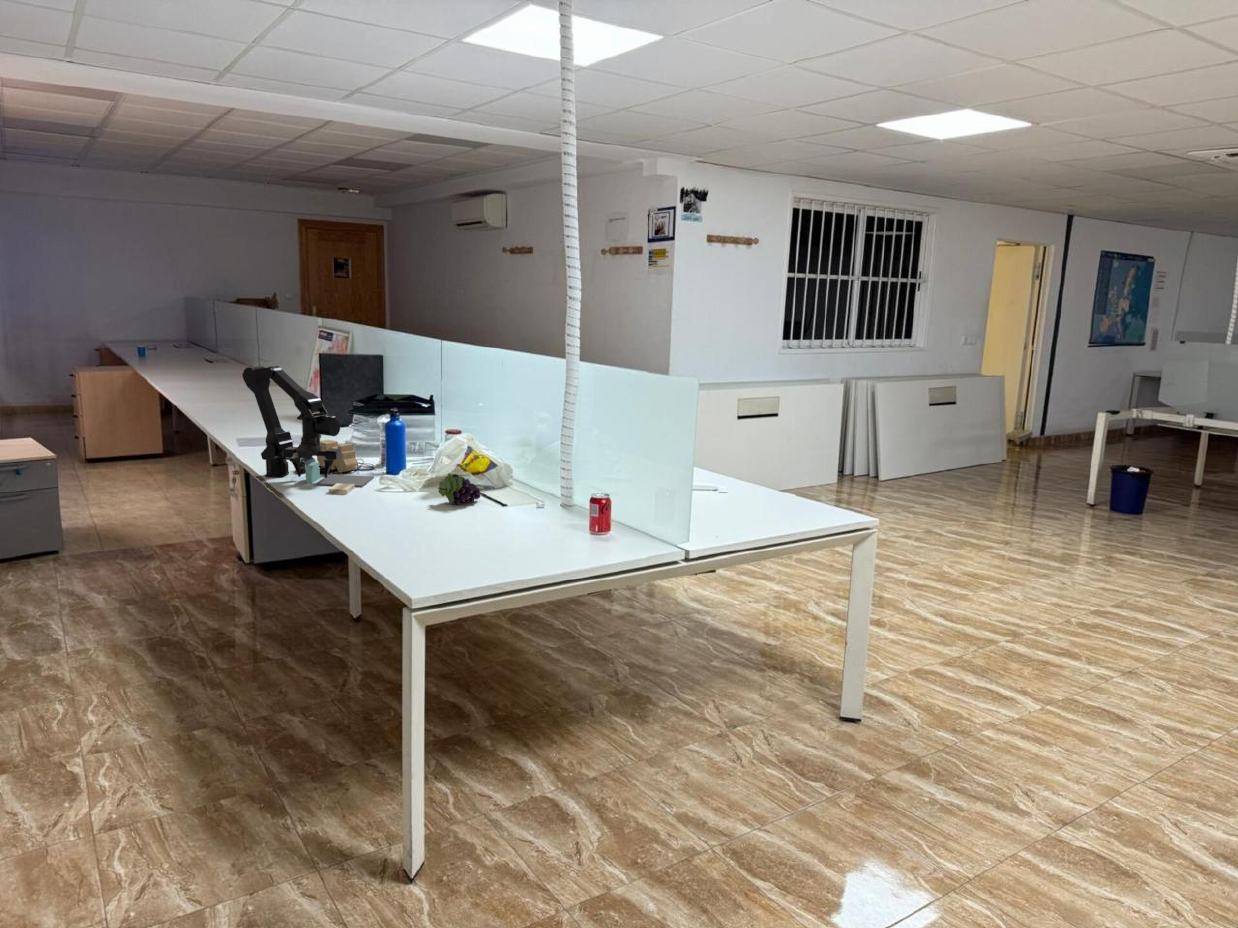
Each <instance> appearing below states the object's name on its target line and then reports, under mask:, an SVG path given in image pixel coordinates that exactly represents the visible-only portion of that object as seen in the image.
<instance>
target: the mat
mask: <svg viewBox="0 0 1238 928" xmlns="http://www.w3.org/2000/svg"><path fill="white" fill-rule="evenodd" d="M374 478H375V476H374V475H373V476H372V475H355V474H354V475H351V474H332V473H331V474H329V473H328V476H327V478H325V477H323V478H321V479H319V481H316V482H314V483H315V486H324V487H325V486H328V487H332V486H334V485H335V484H337V483H342V484H354V487H355V488H363V487H364V486H366V485H367V484H368V483H370V482H371V481H372V480H373V479H374Z"/></svg>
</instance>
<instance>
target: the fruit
mask: <svg viewBox="0 0 1238 928" xmlns="http://www.w3.org/2000/svg"><path fill="white" fill-rule="evenodd" d="M437 489H438V490H437V491H438V493H439V494H440V495H441V497H446V499H447V501H448V503H449V505H452V504H454V505H457V506H458V505H460V504H461V503H464V502H465V503H467V504H468V503H469V502H470V503H474V502H475V500H479V499H480V498H481V491H480V488H478V487H477V485H475V483H471V481H470V479H468V478H465V477H464V476H460V475H459V474H458V473H457V474H456V473H450V472H448V473H447V475H446V476H444V478H443V479H442V481H439V484H438V487H437Z"/></svg>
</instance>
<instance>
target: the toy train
mask: <svg viewBox="0 0 1238 928" xmlns="http://www.w3.org/2000/svg"><path fill="white" fill-rule="evenodd" d="M320 446H322V449H321V451H326V450H328V449H329V448H333V449H340V450H341V457H339V458H338V459H336V460H335V461H334V462H333V464H332V466H331V468H330V469H331V470H330V471H333V470H337V472H338V473H345V472H350V471H354V469H355V467H356V466H359V461H358V460H357V458H356V451H355V450H354V444H353V443H347V444H346V443H345V444H341V445H339V442H338V441H337V440H330V439H323V440H320ZM325 459H326V458H325V456H316V462H319V466H325V462H324V460H325Z"/></svg>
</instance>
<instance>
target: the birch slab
mask: <svg viewBox="0 0 1238 928" xmlns="http://www.w3.org/2000/svg"><path fill="white" fill-rule="evenodd" d="M355 488H356V487H354V484H342V483H337V484H335V485H334V486H330V487H329V488H328V494H329V495H330V494H333V495H334V494H335V495H349V493H351V492H352V491H353V490H354V489H355Z"/></svg>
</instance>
